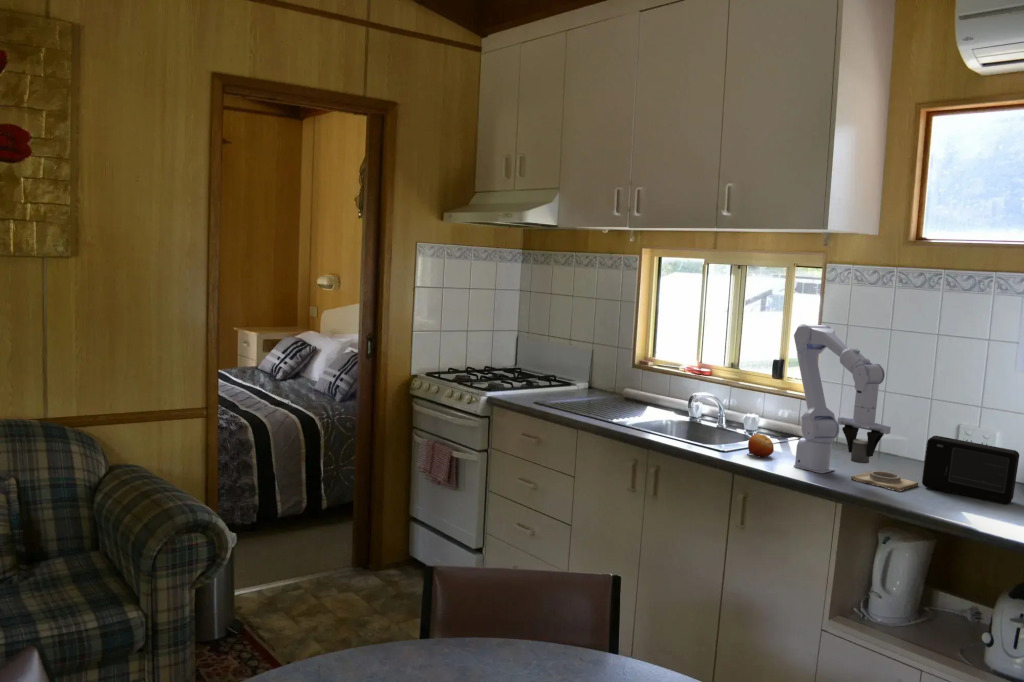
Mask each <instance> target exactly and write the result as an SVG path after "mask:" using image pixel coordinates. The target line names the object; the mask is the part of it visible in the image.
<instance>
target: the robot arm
mask: <svg viewBox="0 0 1024 682" xmlns="http://www.w3.org/2000/svg"><path fill="white" fill-rule="evenodd" d="M793 338H794V343H795V350H796V357H797V361H798V367H799V370H800V371H799V372H800V377H801V378H800V379H801V382H802V388H803V392H804V393H803V394H804V398H805V402H806V408H807V410H806V411H805V412H804V413H803V414H802V415H801V417H800V418H801V433H802V436H803V437H801V438H799V440H798V442H797V444H796V451H795V463H794V464H793V467H795V468H798V469H803V470H807V471H810V472H814V473H817V474H825V473H830V472H833V471H836V469H835V468H834V467H830V464H831V455H832V454H831V453H832V445H833V444H832V443H833V442H835V439H836V438H837V437H838V436H839V433H840V425H841V426H842V428H841V429H842V432H843V435H844V436H845V439H846V444H847V449H848V453H850V454H851V452H852V441H853V439H857V435H858V433H859V430H860V429H861V430H867V432H866V436H867V440H868V448H867V456H868V457H870V458H871V457H873V456H874V452H875V450H876V448H877V445H878V444H879V442H880V441H881V439H882V438H883V436H885V435H889V434H891V428H892V427H891V426H889V425H886V424H885V425H884V424H880V423H878V422H876V415H877V407H878V395H879V387H880V385H881V384H882V383H883V382H884V380H885V375H886V374H885V369H884V368H883V367H882V366H881V364H879V363H873V362H871V360H870V359H869V358H866V357H865V356H864V355H863V354H862V353H860V352H861V351H860V350H859V349H858V348H854V347H853V348H849V347H848V346H847V345H846V344H845V343H844V342H843V341H842V340H841V339H840V337H838V336H837V335H836V331H835V329H833V328H832V327H831V326H830V325H828V324H806V323H802V324H800V325H798V326H797V328H796V330H795V332H794V334H793ZM826 348H827V349H829V350H830V351H831V352H833V353H834V354H835V355H836V356H838V357H839V363H840V364H841V365H842V366H843V367H844V368H845V369H846V370H847V371H848V372H850V374H851V375H852V380H853V382H854V388H855V395H854V396H855V398H854V405H853V406H854V407H853V418H848V417H843V416H842V417H841V416H840V417H838V418H837V419H836V416H835V413H834V412H833V411H832V410H831V409H829V408H828V407H827V403H826V398H825V394H824V389H823V388H824V387H823V383H822V378H821V372H820V367H819V363H818V357H819V355H820V354H822V353H823V352H824V350H825V349H826ZM843 426H844V427H843ZM884 434H885V435H884Z"/></svg>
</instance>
